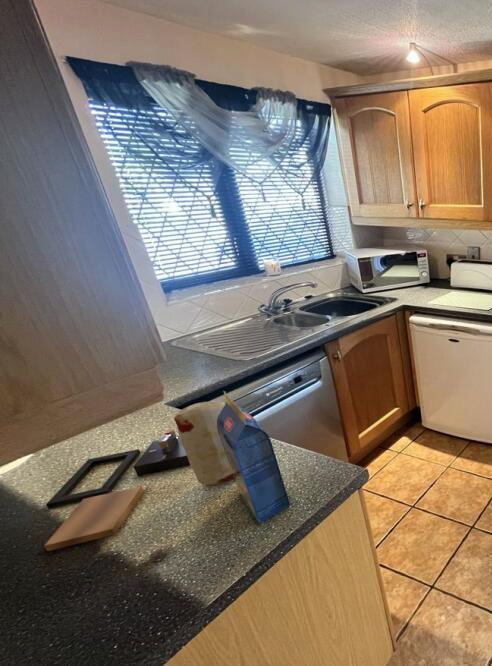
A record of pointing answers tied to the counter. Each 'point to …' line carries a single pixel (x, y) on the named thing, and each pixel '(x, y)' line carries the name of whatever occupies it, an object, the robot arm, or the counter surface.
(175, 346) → the counter surface
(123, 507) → the oak board
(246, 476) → the blue food package
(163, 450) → the knob
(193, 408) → the food model
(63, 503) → the black rectangular frame
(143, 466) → the panel
